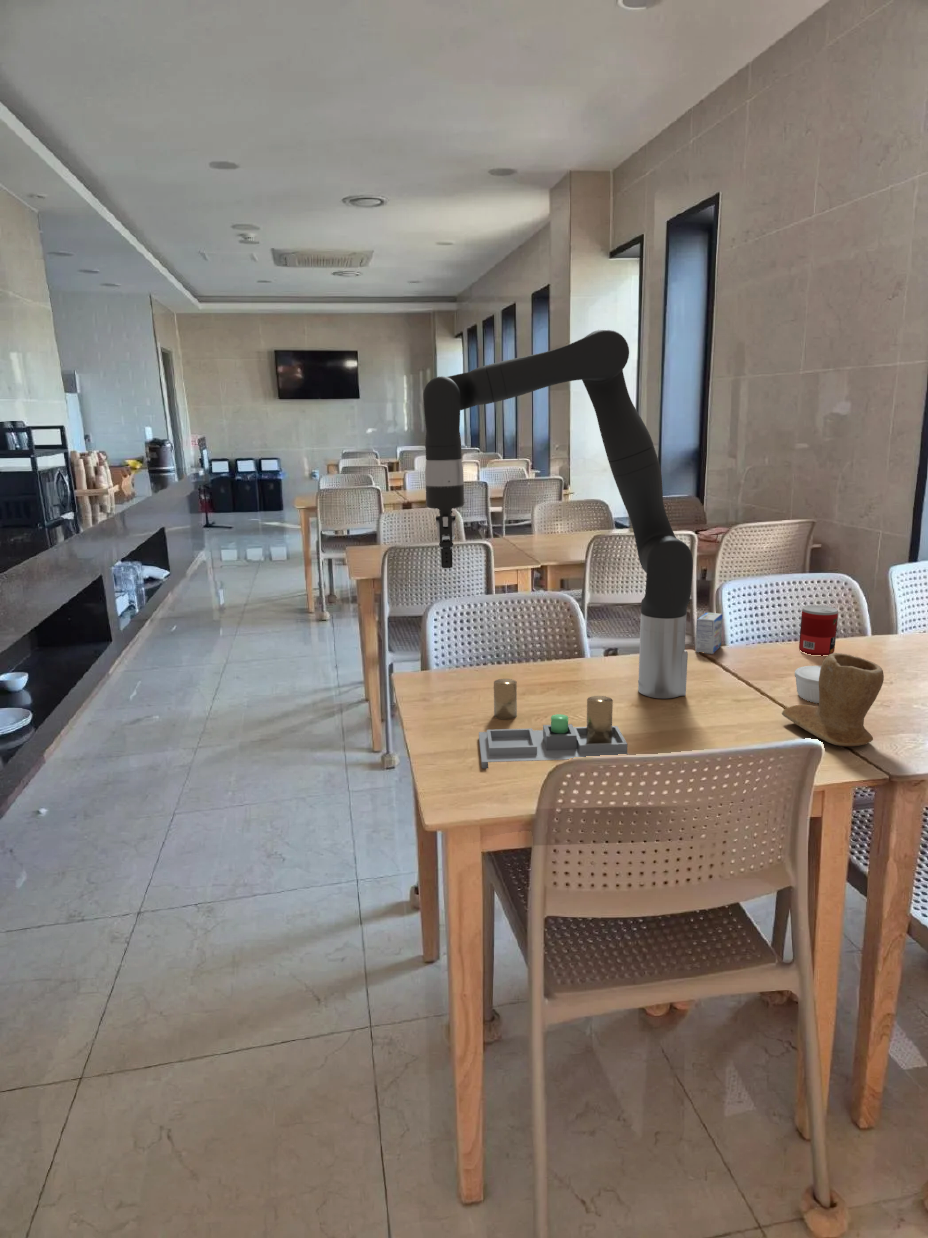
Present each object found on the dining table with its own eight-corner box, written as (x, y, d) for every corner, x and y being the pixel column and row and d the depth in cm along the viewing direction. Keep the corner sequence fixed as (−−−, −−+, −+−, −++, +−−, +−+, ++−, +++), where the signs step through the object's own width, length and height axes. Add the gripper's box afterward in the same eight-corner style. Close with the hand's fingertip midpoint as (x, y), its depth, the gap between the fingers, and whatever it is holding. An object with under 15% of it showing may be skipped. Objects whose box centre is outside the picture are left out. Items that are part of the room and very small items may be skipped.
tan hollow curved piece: (891, 747, 136) (901, 665, 132) (831, 754, 133) (839, 671, 130) (834, 716, 150) (841, 641, 147) (779, 722, 148) (785, 646, 144)
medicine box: (712, 654, 191) (714, 620, 189) (694, 652, 193) (696, 618, 191) (721, 646, 197) (723, 613, 195) (703, 644, 199) (705, 611, 197)
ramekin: (860, 696, 161) (862, 672, 159) (841, 711, 153) (844, 686, 151) (804, 685, 168) (806, 661, 167) (784, 699, 160) (786, 674, 159)
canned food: (837, 657, 186) (842, 612, 183) (802, 656, 188) (805, 612, 185) (829, 648, 193) (834, 605, 191) (795, 647, 195) (799, 604, 192)
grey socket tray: (614, 734, 144) (614, 714, 143) (630, 764, 132) (630, 743, 131) (478, 738, 144) (478, 718, 143) (481, 768, 131) (481, 747, 130)
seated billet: (608, 737, 140) (609, 695, 138) (613, 747, 135) (615, 704, 133) (584, 738, 140) (585, 696, 138) (588, 748, 135) (589, 704, 133)
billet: (515, 716, 154) (515, 678, 152) (517, 725, 150) (517, 685, 148) (493, 717, 154) (493, 679, 152) (494, 725, 150) (494, 686, 148)
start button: (566, 726, 138) (566, 714, 138) (569, 733, 135) (569, 720, 135) (549, 727, 138) (550, 714, 138) (552, 733, 135) (552, 720, 135)
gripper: (464, 485, 147) (466, 570, 151) (463, 479, 160) (465, 557, 164) (424, 486, 146) (427, 571, 151) (426, 480, 160) (429, 558, 164)
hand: (447, 564), depth 157 cm, fingers open, 8 cm apart
